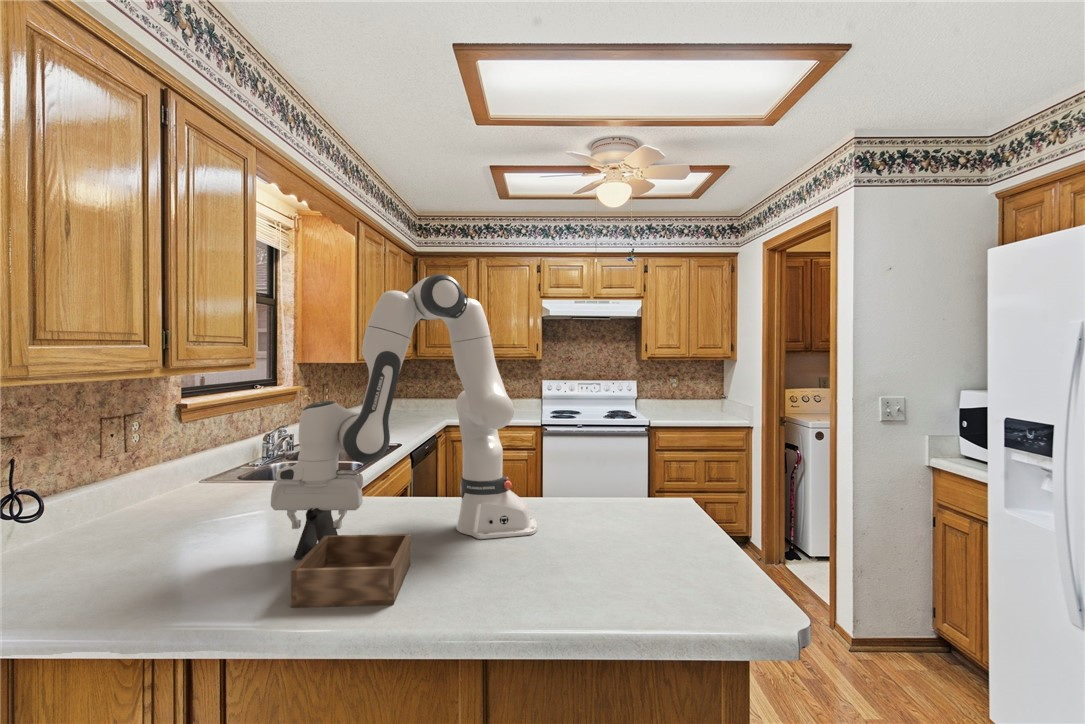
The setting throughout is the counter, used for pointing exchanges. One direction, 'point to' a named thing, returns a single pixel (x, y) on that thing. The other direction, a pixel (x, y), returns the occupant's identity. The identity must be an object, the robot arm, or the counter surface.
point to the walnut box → (352, 571)
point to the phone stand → (314, 531)
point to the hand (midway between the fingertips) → (317, 528)
